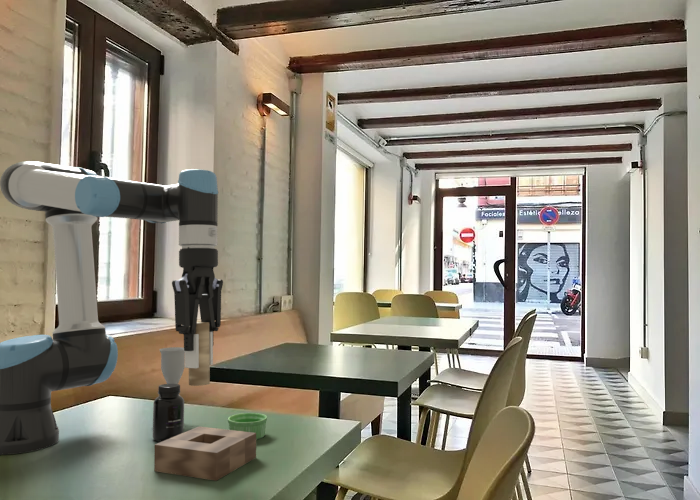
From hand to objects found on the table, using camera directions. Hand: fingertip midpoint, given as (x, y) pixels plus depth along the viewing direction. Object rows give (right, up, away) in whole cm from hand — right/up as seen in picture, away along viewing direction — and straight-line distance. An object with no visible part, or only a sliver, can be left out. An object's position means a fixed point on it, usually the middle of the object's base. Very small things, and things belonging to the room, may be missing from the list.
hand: (199, 365), depth 114 cm
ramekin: (+6, -21, +20) cm, 29 cm away
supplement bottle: (-12, -20, +18) cm, 30 cm away
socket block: (+2, -19, 0) cm, 19 cm away
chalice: (-16, -21, +35) cm, 44 cm away
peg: (0, -4, 0) cm, 4 cm away
